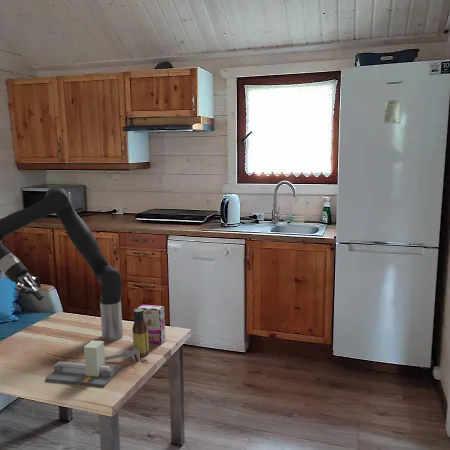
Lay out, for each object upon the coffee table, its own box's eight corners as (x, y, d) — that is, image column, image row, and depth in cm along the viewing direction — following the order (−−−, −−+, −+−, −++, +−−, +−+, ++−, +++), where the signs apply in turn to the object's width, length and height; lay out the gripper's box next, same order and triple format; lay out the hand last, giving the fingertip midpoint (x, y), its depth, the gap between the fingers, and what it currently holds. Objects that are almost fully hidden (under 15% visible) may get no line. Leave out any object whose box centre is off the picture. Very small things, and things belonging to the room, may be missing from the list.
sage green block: (93, 368, 176) (91, 340, 174) (105, 369, 175) (103, 341, 173) (85, 375, 170) (83, 347, 168) (97, 376, 169) (96, 348, 167)
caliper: (140, 360, 186) (139, 346, 185) (139, 361, 184) (139, 347, 183) (90, 361, 185) (89, 347, 184) (89, 363, 184) (88, 348, 183)
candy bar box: (166, 340, 204) (164, 305, 201) (161, 344, 199) (160, 309, 197) (143, 337, 207) (142, 303, 204) (138, 342, 202) (137, 307, 200)
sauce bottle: (141, 349, 195) (139, 305, 192) (152, 352, 192) (150, 308, 188) (130, 354, 190) (128, 310, 187) (140, 358, 186) (138, 313, 183)
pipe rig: (65, 363, 183) (65, 353, 182) (120, 368, 178) (120, 358, 177) (45, 380, 169) (44, 370, 169) (104, 387, 164) (103, 375, 164)
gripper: (6, 265, 171) (37, 298, 170) (28, 257, 183) (57, 287, 183) (-5, 278, 173) (26, 310, 172) (17, 269, 185) (46, 299, 185)
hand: (42, 298), depth 178 cm, fingers closed
